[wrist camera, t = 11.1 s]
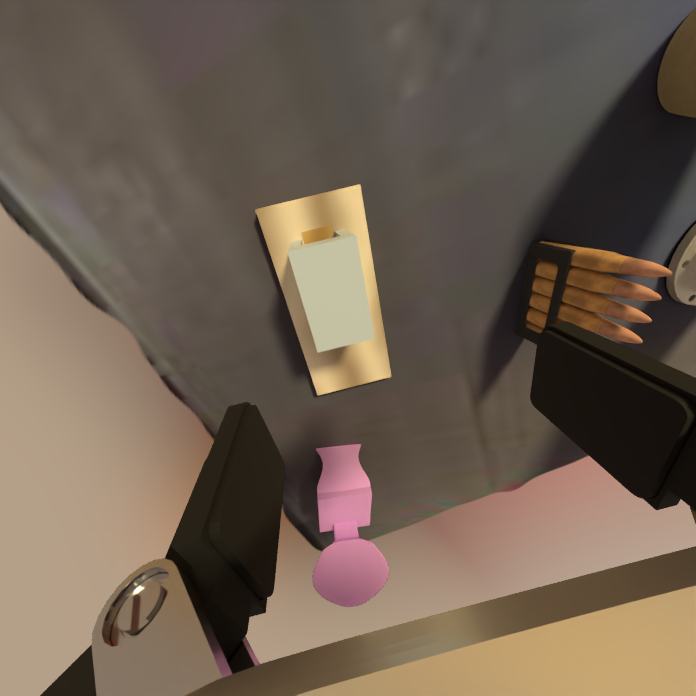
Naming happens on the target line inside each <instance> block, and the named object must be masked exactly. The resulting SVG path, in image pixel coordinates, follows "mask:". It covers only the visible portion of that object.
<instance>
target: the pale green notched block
mask: <svg viewBox="0 0 696 696" xmlns="http://www.w3.org/2000/svg"><path fill="white" fill-rule="evenodd" d="M335 235H336V237H334V238H329V239H325V240H321V241H317V242H313V243H309V244H305V245H303V242H302V239H300V240H296V241H292V242H291V245H290V247H289V250H288V256H289V259H290V262H291V266H292V269H293V272H294V276H295V279H296V282H297V286H298V289H299V292H300V296H301V299H302V302H303V306H304V309H305V312H306V315H307V319H308V322H309V325H310V329H311V332H312V335H313V339H314V342H315V345H316V349H317V352H318V353H319V352H323V351H327V350H331V349H335V348H339V347H343V346H347V345H351V344H355V343H359V342H363V341H367V340H371V339H375V337H374V331H373V326H372V320H371V315H370V309H369V303H368V298H367V292H366V287H365V281H364V276H363V270H362V264H361V259H360V253H359V248H358V242H357V237H356V235H354V234H353V233H351V232H349V231H347V230H346V229H342V230H338V231H335Z"/></svg>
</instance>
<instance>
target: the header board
mask: <svg viewBox="0 0 696 696" xmlns="http://www.w3.org/2000/svg"><path fill="white" fill-rule="evenodd" d="M255 210H256V213H257V216H258V219H259V222H260V225H261V228H262V231H263V234H264V237H265V240H266V243H267V246H268V249H269V252H270V255H271V258H272V261H273V264H274V267H275V270H276V273H277V276H278V279H279V282H280V285H281V288H282V291H283V294H284V297H285V300H286V303H287V306H288V309H289V312H290V315H291V318H292V321H293V324H294V327H295V330H296V333H297V336H298V339H299V342H300V345H301V348H302V351H303V354H304V357H305V360H306V362H307V365H308V368H309V371H310V374H311V377H312V380H313V383H314V386H315V389H316V392H317V395H322V394H326V393H330V392H334V391H338V390H342V389H346V388H350V387H354V386H357V385H361V384H365V383H369V382H373V381H377V380H381V379H385V378H389V377H391V371H390V365H389V359H388V353H387V347H386V340H385V334H384V328H383V322H382V316H381V310H380V303H379V297H378V291H377V285H376V279H375V273H374V266H373V260H372V254H371V248H370V242H369V236H368V230H367V223H366V217H365V211H364V205H363V199H362V193H361V186H360V184H359V185H355V186H351V187H347V188H343V189H338V190H334V191H330V192H326V193H322V194H318V195H313V196H309V197H305V198H301V199H297V200H293V201H288V202H284V203H280V204H276V205H272V206H268V207H263V208H259V209H255ZM342 229H346V230H347V231H349V232H351V233H353V234H354V235H356V237H357V242H358V248H359V253H360V259H361V264H362V270H363V276H364V281H365V287H366V292H367V298H368V303H369V309H370V315H371V320H372V326H373V331H374V337H375V339H371V340H367V341H363V342H359V343H355V344H351V345H347V346H343V347H339V348H335V349H331V350H327V351H323V352H319V353H318V352H317V349H316V345H315V342H314V339H313V335H312V332H311V329H310V325H309V322H308V319H307V315H306V312H305V309H304V306H303V302H302V299H301V296H300V292H299V289H298V286H297V282H296V279H295V276H294V272H293V269H292V266H291V262H290V259H289V256H288V250H289V247H290V245H291V242H292V241H296V240H300V239H302V242H303V245H305V244H309V243H313V242H317V241H321V240H325V239H329V238H334V237H336V235H335V231H338V230H342Z"/></svg>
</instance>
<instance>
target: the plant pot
mask: <svg viewBox="0 0 696 696" xmlns="http://www.w3.org/2000/svg"><path fill="white" fill-rule="evenodd" d="M657 92H658V97H659V100H660V103H661V105H662V106H663V107H664V109H665V110H666V111H668V112H670V113H673V114H678V115H682V116H688V117H694V118H696V8H695V9H694V10H693V11H692V12H691V13H690V14H689V15H688V17H687V18H686V19H685V20H684V21H683V23H682V24H681V25H680V27H679V28H678V30H677V31H676V33H675V34H674V36H673V38H672V39H671V41H670V43H669V45H668V47H667V49H666V51H665V54H664V57H663V59H662V62H661V66H660V69H659V74H658V81H657Z"/></svg>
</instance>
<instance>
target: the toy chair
mask: <svg viewBox="0 0 696 696" xmlns="http://www.w3.org/2000/svg"><path fill="white" fill-rule="evenodd" d="M360 447H361V444H355V445H345V446H335V447H325V448H316V451H317V453H318V454H319V456H320V457H321V459H322V462H323V470H322V474H321V477H320V480H319V483H318V486H317V496H318V512H319V526H320V532H326V531H332V530H334V537H335V541H334V542H333V543H332V544H331V545H329V546H328V547H326V548H325V549H324V550H323V552H322V554H321V556H320V558H319V560H318V562H317V564H316V566H315V569H314V572H313V585H314V588H315V589H316V591H317V592H318V593H319V594H320V595H321V596H322V597H323V598H325V599H326V600H328V601H330V602H332V603H335V604H337V605H340V606H344V607H352V606H358V605H361V604H363V603H365V602H367V601H368V600H370V599H371V598H372V597H373V596H375V595H376V594H377V593H378V592H379V591H380V590H381V588H382V587H383V586H384V584H385V583H386V581H387V579H388V575H389V568H388V564H387V562H386V560H385V558H384V556H383V555H382V553H381V552H380V551H379V550H378V549H377V548H376V547H375V545H374V544H373V542H370V541H367V540H364V539H361V538H359V534H358V529H357V527H362V526H369V525H370V511H371V500H372V491H371V487H370V482H369V479H368V477H367V475H366V474H365V472H364V471H363V469H362V467H361V465H360V463H359V459H358V454H359V450H360Z"/></svg>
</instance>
